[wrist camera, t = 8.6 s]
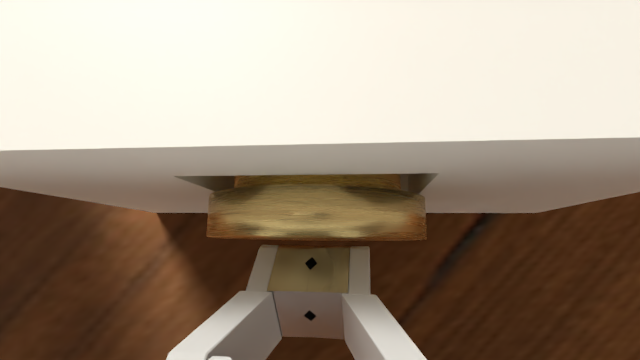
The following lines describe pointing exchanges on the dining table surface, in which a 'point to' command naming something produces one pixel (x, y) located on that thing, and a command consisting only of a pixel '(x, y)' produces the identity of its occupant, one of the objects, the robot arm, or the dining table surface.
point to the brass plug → (317, 208)
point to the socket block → (322, 98)
